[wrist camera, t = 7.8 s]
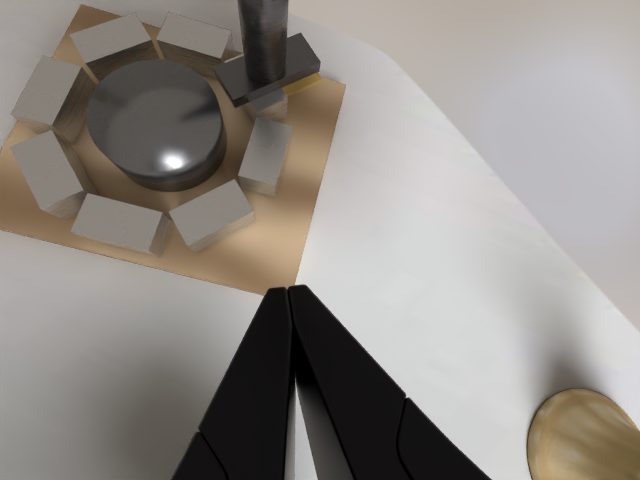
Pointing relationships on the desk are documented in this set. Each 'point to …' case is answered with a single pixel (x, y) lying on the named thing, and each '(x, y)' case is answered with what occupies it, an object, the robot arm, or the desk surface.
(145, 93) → the grey metal puck
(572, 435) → the hand bell
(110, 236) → the block ring with rod
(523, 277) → the desk surface
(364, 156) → the desk surface
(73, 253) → the desk surface
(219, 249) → the oak board
